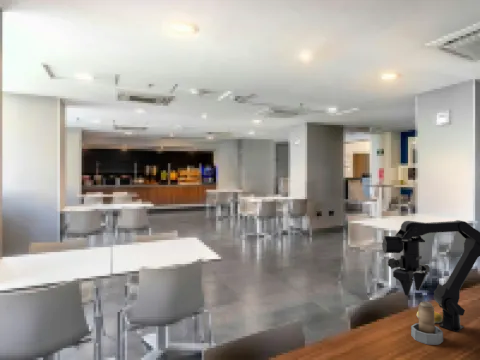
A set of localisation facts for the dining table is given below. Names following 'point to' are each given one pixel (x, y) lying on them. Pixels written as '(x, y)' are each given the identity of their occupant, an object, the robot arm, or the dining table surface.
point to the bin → (427, 335)
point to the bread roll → (435, 317)
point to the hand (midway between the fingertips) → (412, 292)
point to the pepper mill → (426, 318)
